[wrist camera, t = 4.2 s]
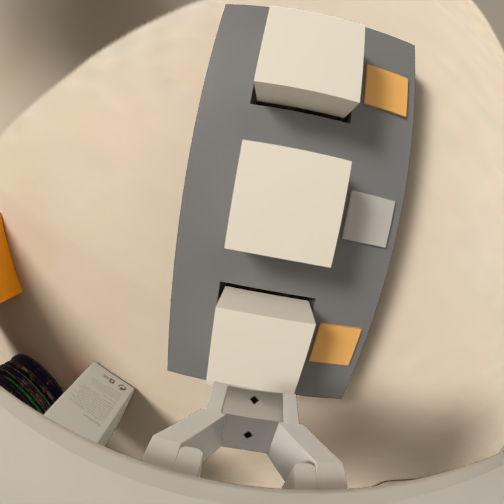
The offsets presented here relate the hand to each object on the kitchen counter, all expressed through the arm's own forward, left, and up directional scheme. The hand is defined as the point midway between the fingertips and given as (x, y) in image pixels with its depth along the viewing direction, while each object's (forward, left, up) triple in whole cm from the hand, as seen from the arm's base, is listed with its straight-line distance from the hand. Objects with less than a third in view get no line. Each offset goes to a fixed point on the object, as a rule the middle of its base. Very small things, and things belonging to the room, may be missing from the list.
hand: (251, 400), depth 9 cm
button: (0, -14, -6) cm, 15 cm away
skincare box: (+11, +11, -8) cm, 18 cm away
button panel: (-1, -7, -8) cm, 11 cm away
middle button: (0, -7, -6) cm, 9 cm away
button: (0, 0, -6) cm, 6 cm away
